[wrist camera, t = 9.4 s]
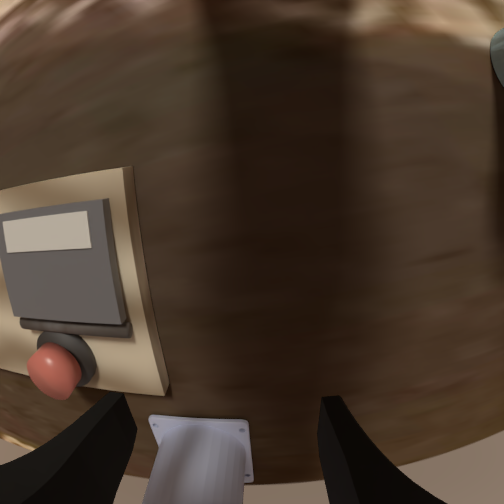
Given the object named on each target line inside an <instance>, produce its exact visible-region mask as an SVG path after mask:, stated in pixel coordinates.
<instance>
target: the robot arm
mask: <svg viewBox="0 0 504 504" xmlns="http://www.w3.org/2000/svg"><path fill="white" fill-rule="evenodd" d="M149 423H150V426H151V428H152V431H153V433H154V436H155V438H156V441H157V443H158V446H159V450H158V453H157V456H156V459H155V462H154V466H153V469H152V472H151V475H150V479H149V482H148V485H147V489H146V492H145V495H144V499H143V502H142V504H243V492H244V483H250V482H253V481H254V475H253V465H252V454H251V444H250V433H249V423H248V421H246V420H243V419H207V418H188V417H174V416H162V415H150V417H149ZM136 433H137V426H136V424H135V421H134V419H133V417H132V414H131V412H130V409H129V406H128V404H127V401H126V399H125V396H124V394H123V393H115V392H109V393H108V394H106V395H105V396H104V397H103V398H102V399H101V400H99V401H98V402H97V403H96V404H95V405H94V406H93V407H91V408H90V409H89V410H88V411H87V412H86V413H84V414H83V415H82V416H81V417H80V418H79V419H77V420H76V421H75V422H74V423H73V424H71V425H70V426H69V427H67V428H66V429H65V430H64V431H62V432H61V433H60V434H58V435H57V436H56V437H54V438H53V439H51V440H50V441H48V442H47V443H45V444H44V445H42V446H40V447H39V448H37V449H35V450H34V451H32V452H30V453H28V454H26V455H24V456H22V457H20V458H17V459H15V460H13V461H11V462H8V463H5V464H3V465H0V504H113V501H114V498H115V495H116V492H117V490H118V487H119V484H120V482H121V479H122V477H123V474H124V472H125V469H126V466H127V464H128V461H129V459H130V456H131V453H132V451H133V447H134V443H135V438H136ZM317 436H318V447H319V457H320V462H321V466H322V471H323V475H324V480H325V485H326V489H327V493H328V498H329V503H330V504H447V503H445V502H443V501H442V500H440V499H438V498H436V497H435V496H433V495H432V494H430V493H429V492H427V491H425V489H423V488H421V487H420V486H419V485H417V484H416V483H415V482H413V481H412V480H411V479H409V478H408V477H407V476H406V475H405V474H404V473H402V472H401V471H400V470H399V469H398V468H397V467H396V466H395V465H394V464H393V463H392V462H390V461H389V460H388V458H387V457H386V456H385V455H384V454H383V453H382V452H381V451H380V450H379V449H378V448H377V447H376V445H375V444H374V443H373V442H372V441H371V439H370V438H369V437H368V436H367V434H366V433H365V432H364V431H363V429H362V428H361V427H360V425H359V424H358V423H357V421H356V420H355V418H354V417H353V415H352V414H351V412H350V411H349V409H348V408H347V406H346V405H345V403H344V401H343V400H342V398H341V397H340V396H328V397H322V398H321V407H320V416H319V424H318V431H317Z"/></svg>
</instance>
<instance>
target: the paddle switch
mask: <svg viewBox="0 0 504 504" xmlns="http://www.w3.org/2000/svg"><path fill="white" fill-rule="evenodd" d="M0 260H1V265H2V270H3V274H4V279H5V283H6V288H7V292H8V296H9V300H10V303H11V307H12V311H13V314H14V316H15V317H24V318H34V319H45V320H57V321H70V322H85V323H102V324H122V323H123V322H124V321H125V320H126V319H127V318H126V313H125V308H124V303H123V298H122V292H121V286H120V280H119V274H118V268H117V261H116V254H115V247H114V240H113V232H112V223H111V214H110V204H109V198H105V199H97V200H89V201H81V202H73V203H66V204H58V205H51V206H45V207H38V208H31V209H25V210H19V211H13V212H7V213H1V214H0Z"/></svg>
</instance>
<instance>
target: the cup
mask: <svg viewBox="0 0 504 504" xmlns="http://www.w3.org/2000/svg"><path fill="white" fill-rule="evenodd" d="M490 54H491V60H492V64H493V67H494V70H495V72H496V75H497V77H498V79H499V81H500V82H501V84H502V86H503V87H504V28H503V29H501V30H499V31H498V32H497V33H496V34H495V35H494V37H493V38H492V40H491V46H490Z"/></svg>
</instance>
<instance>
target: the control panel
mask: <svg viewBox="0 0 504 504" xmlns="http://www.w3.org/2000/svg"><path fill="white" fill-rule="evenodd" d="M105 198H109V204H110V214H111V223H112V232H113V240H114V247H115V254H116V261H117V268H118V274H119V280H120V286H121V292H122V298H123V303H124V308H125V313H126V318H127V319H126V320H125V321H124V322H123V323H122V324H102V323H85V322H70V321H57V320H45V319H34V318H24V317H15V316H14V314H13V311H12V307H11V303H10V300H9V296H8V292H7V288H6V283H5V279H4V274H3V270H2V265H1V260H0V368H1V369H5V370H9V371H13V372H17V373H21V374H25V375H29V373H28V371H27V362H28V360H29V359H30V357H31V356H32V355H33V354H34V353H35V352H36V351H37V350H38V349H39V348H40V347H41V346H42V345H43V344H44V343H47V342H52V343H56V344H58V345H60V346H62V347H64V348H65V349H66V350H68V351H69V352H70V353H71V354H72V355H73V356H74V358H75V359H76V360H77V362H78V364H79V366H80V369H81V373H82V376H81V380H80V381H79V383H78V384H77V387H79V386H85V387H91V388H98V389H105V390H112V391H120V392H129V393H138V394H149V395H160V396H165V394H166V391H167V388H168V386H169V383H170V382H169V378H168V374H167V370H166V366H165V362H164V357H163V353H162V349H161V344H160V340H159V335H158V331H157V326H156V321H155V316H154V311H153V306H152V301H151V295H150V290H149V284H148V279H147V273H146V267H145V260H144V254H143V247H142V240H141V233H140V226H139V218H138V210H137V202H136V192H135V183H134V172H133V166H130V167H122V168H115V169H108V170H102V171H95V172H89V173H83V174H77V175H71V176H66V177H60V178H55V179H50V180H45V181H40V182H35V183H30V184H26V185H21V186H17V187H12V188H8V189H4V190H0V214H1V213H7V212H13V211H19V210H25V209H31V208H38V207H45V206H51V205H58V204H66V203H73V202H81V201H89V200H97V199H105Z"/></svg>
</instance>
